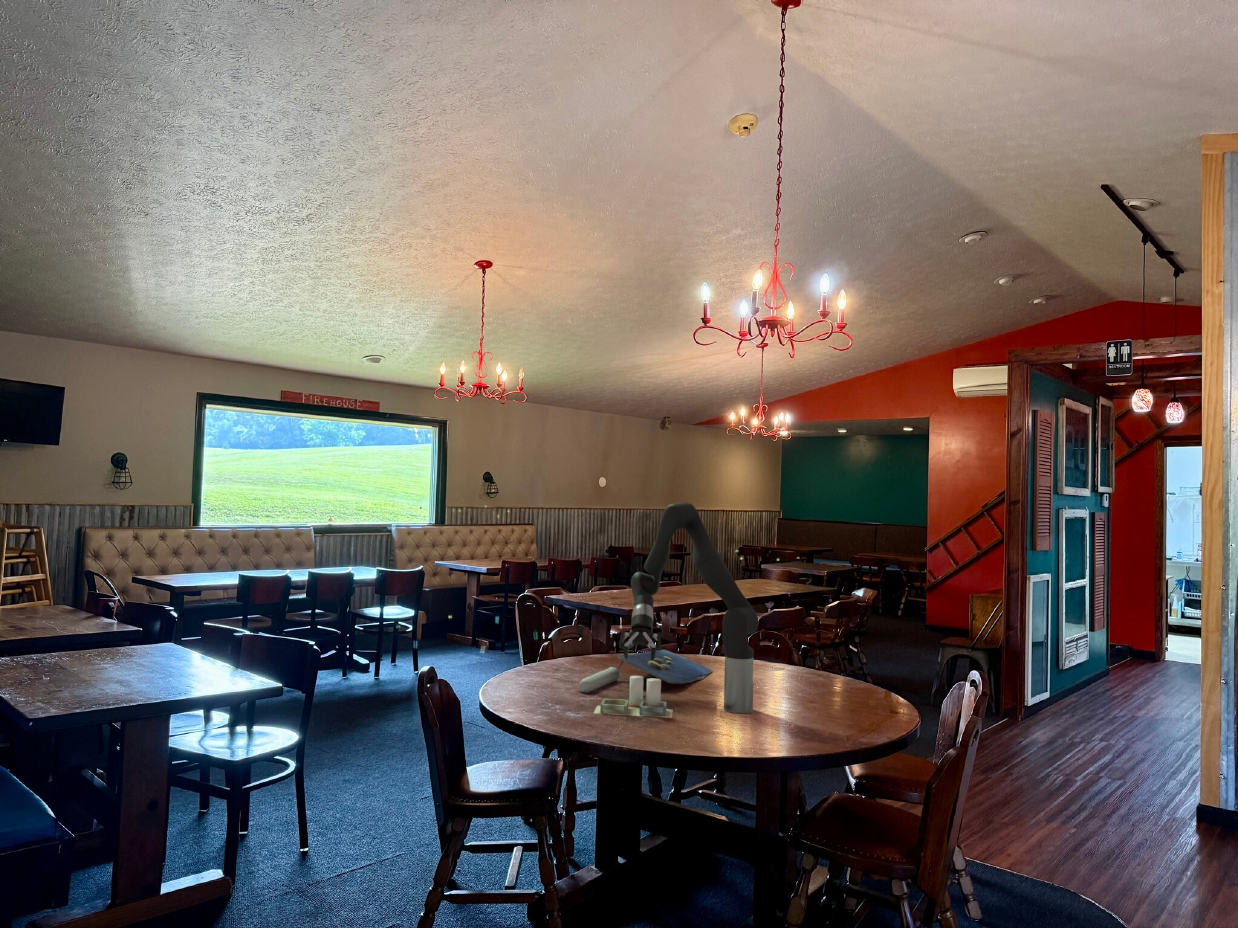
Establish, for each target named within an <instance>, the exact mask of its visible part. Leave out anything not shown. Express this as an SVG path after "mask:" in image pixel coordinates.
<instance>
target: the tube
mask: <svg viewBox="0 0 1238 928" xmlns="http://www.w3.org/2000/svg"><path fill="white" fill-rule="evenodd" d="M620 673H621V672H620V670H619V669H618V668H617V667H614V666H609V668H606V669H603V670H601V671H599V672H597V673H594V674H592V675H589V676H586V677H584V678H582V679H581V680H580V682H579V683H578V685H579V686H578V689H579V691H581V693H587V694H588V693H590V691H591V692H594V691H595V690H598V689H601V688H603V687H605V686H607V685H610V684H611V682H612V683H614V682H617V681H618V679H620ZM613 681H614V682H613ZM604 685H605V686H604ZM597 688H598V689H597Z"/></svg>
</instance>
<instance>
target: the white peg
mask: <svg viewBox="0 0 1238 928" xmlns="http://www.w3.org/2000/svg"><path fill="white" fill-rule="evenodd" d="M628 691H629V692H628V693H629V695H628V697H629V698H628V700H629V701H628V705H631V706H636V707H637V706H638V707H640V703H641V701H644V676H642V675H630V676H629V690H628Z"/></svg>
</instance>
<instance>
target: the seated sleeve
mask: <svg viewBox="0 0 1238 928" xmlns="http://www.w3.org/2000/svg"><path fill="white" fill-rule="evenodd" d="M661 690H662V679H660V678H657V677H656V678H652V677H651V678H650V677H649V678H646V692H645V693H646V697H645V698H646V699H645V701H646V706H647V707H661V706H660V702H661V696H662V694H661V693H662V691H661Z"/></svg>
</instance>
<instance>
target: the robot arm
mask: <svg viewBox="0 0 1238 928" xmlns="http://www.w3.org/2000/svg"><path fill="white" fill-rule="evenodd" d="M678 530H679V531H680V530H685V532H686V533H687V534H688V537H689V538H690V540H691V543H692V546H693V548H692V549H693V550H692V551H693V553H692V554H693V563H694V566H695V569H696V571H697V572H698V574H699V576H700V577H701V579H702V581H703V582H704V583H705V584H706V586H707V587H709V589H710V590H711V591H713V593H715V594H716V595H717V596H718V597H719V598H720V599H721V600H722V601H723V603H724V604H725V606H726V607H727V610H726V611H725V613H724V614H723V619H722V646H723V650H724V680H723V681H724V682H723V683H724V684H723V710H724V711H726V712H728V713H732V714H733V713H734V714H750V713H751V714H752V713H753V712H754V683H755V682H754V654H755V653H754V652H755V651H754V648H753V647H751V646H750V645H749V641H748V639H749V638H748V637H749V635H751V634H754V633H755V632H756V631H757V630H758V628H759V624H760V622H759V621H760V620H759V616H758V614H757V612H756V610H755V609H754V607H753V606H752V605H751V603H750V602H749V600H748V599H747V598H746V596H745V595H744V594H743V592H742V590H741V589H740V588H739V586H738V584H737V583H736V581H735V579H734V578H733V575H732V574H731V572H730V571H729V569H728V567H727V565H726V563H725V561H724V559H723V557H722V556H721V554H720V553H719V552H718V550H717V548H716V546H715V545H714V543H713V541H712V539H711V538H710V536H709V533H708V532H707V529H706V528H705V525H704V524H703V521H702V518H701V516H700V514H699V511H698V510H697V508H695V506H694V505H693V504H692V503H691V502H687V501H686V502H676V503H671V504H668V505H667V506H666V507H665V509H664V510H663V513H662V516H661V519H660V523H659V527H658V530H657V534H656V536H655V541H654V543H653V545H652V548H651V550H650V552H649V555H648V556H647V559H646V560H645V563H644V566H643V568H644V570H645V571H646V573H645V572H643V571H637V572H635V573H634V574H633V575H632V577H631V579H630V580H631V581H630V587H631V592H632V596H633V608H632V612H631V613H632V614H631V626H630V631H629V632H626V631H625V629H624V630H621V632H620V638H619V642H618V643H619V645H618V646H619V649H621V650H623V656H624V658H626V659H628V655H629V649H631V648H633V647H634V645H635V646H644V647H645V646H646V647H648V649H650V650H651V651H650V652H651V661H653V659H655V652H656V651H657V650H658V651H660V650H662V633H661V631H660V632H657V633H653V626H654V605H655V603H654V597H653V596H654V595H656V594H657V593H658V592H659V590H660V586H661V578H662V574H663V571H664V569H665V567H666V566H667V563H668V562H669V559H670V555H671V544H670V543H671V539H672V538H673V536H674V535H675V533H676V532H677V531H678ZM627 638H629V639H628V640H627V641H626V642H625V640H626V639H627ZM653 639H654V640H655V641H657V644H655V643H654V642H653Z"/></svg>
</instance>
